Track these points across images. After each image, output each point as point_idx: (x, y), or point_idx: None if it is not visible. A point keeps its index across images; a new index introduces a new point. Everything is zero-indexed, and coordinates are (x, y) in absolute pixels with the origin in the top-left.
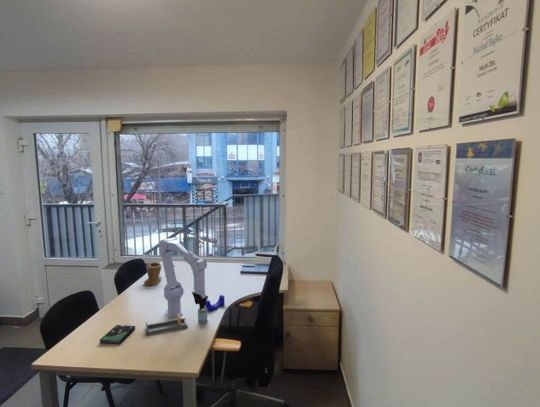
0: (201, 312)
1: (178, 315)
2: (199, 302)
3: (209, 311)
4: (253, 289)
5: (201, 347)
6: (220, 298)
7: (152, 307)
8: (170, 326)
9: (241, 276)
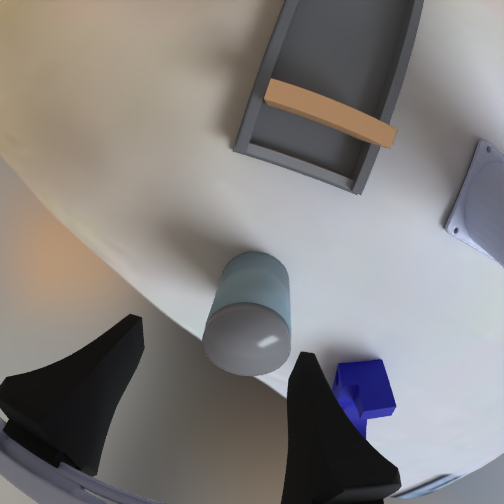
0: (213, 314)
1: (340, 109)
2: (53, 364)
3: (338, 365)
4: None
5: (10, 137)
6: None
7: None
8: (343, 55)
9: (432, 475)
